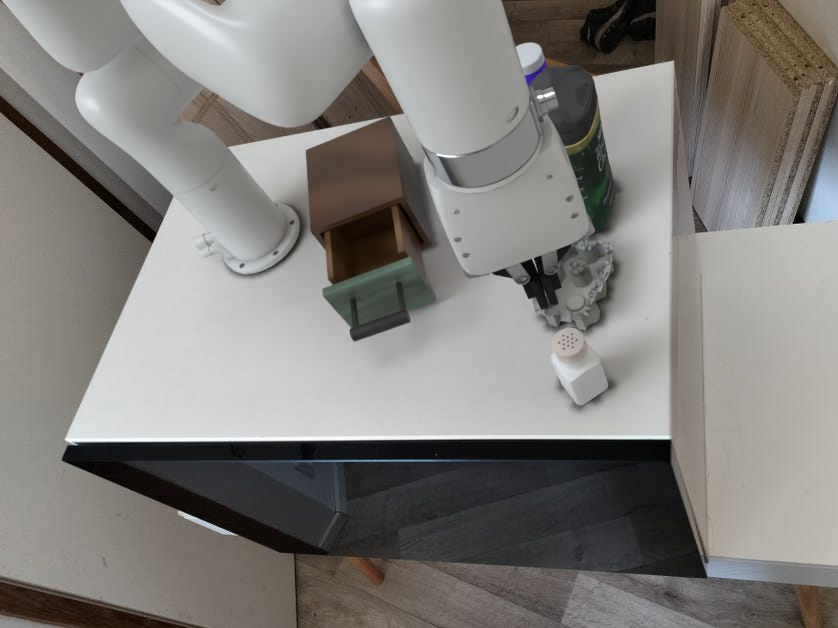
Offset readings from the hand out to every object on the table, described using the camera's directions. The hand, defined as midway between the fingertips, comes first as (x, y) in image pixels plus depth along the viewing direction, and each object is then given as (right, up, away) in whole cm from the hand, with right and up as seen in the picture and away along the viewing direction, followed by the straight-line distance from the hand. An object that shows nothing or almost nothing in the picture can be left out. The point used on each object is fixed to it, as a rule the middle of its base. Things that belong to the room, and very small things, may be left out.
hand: (546, 294), depth 58 cm
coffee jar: (+8, +13, +26) cm, 30 cm away
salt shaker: (+6, -9, +15) cm, 18 cm away
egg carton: (+6, +2, +21) cm, 22 cm away
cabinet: (-19, +14, +37) cm, 44 cm away
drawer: (-17, +3, +29) cm, 34 cm away
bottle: (+5, +20, +32) cm, 38 cm away
